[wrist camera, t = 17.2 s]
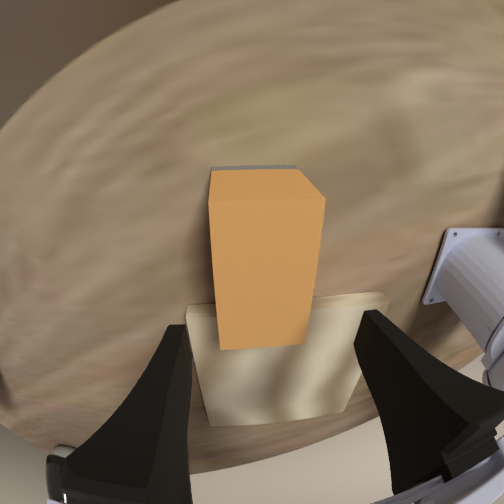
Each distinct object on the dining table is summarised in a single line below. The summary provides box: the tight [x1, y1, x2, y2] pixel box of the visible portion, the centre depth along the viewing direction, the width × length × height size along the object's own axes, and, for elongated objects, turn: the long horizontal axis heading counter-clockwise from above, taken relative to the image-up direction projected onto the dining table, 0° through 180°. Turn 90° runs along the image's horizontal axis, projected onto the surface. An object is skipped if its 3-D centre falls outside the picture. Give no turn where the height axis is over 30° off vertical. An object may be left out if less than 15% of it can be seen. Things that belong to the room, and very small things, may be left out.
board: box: [186, 291, 389, 427], centre depth 27 cm, size 16×18×2 cm
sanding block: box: [208, 165, 326, 350], centre depth 17 cm, size 5×9×6 cm, turn 0°
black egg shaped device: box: [46, 446, 82, 504], centre depth 33 cm, size 10×10×15 cm
